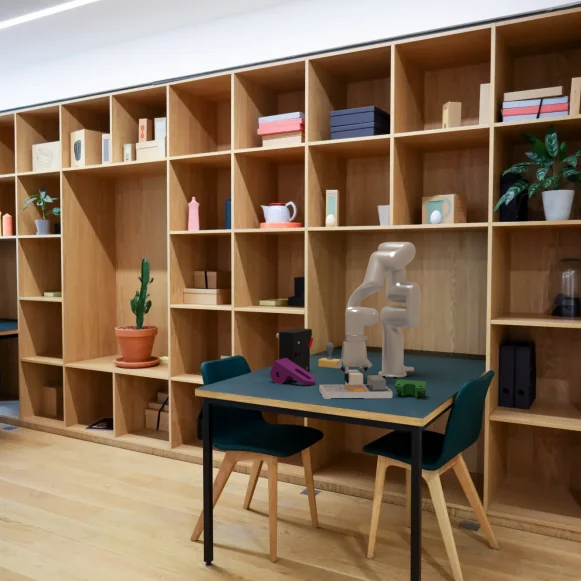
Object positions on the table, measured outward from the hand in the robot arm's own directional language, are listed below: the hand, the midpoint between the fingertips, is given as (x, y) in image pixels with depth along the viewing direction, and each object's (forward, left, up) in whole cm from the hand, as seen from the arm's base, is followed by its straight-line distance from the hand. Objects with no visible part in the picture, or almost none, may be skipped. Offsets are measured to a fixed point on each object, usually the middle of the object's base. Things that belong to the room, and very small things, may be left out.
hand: (354, 382), depth 255 cm
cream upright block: (0, 0, -2) cm, 2 cm away
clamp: (-18, +20, -2) cm, 27 cm away
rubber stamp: (+3, -47, -2) cm, 47 cm away
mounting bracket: (+24, -9, -2) cm, 26 cm away
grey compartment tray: (+2, +15, -2) cm, 15 cm away
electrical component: (+22, -29, -2) cm, 36 cm away
